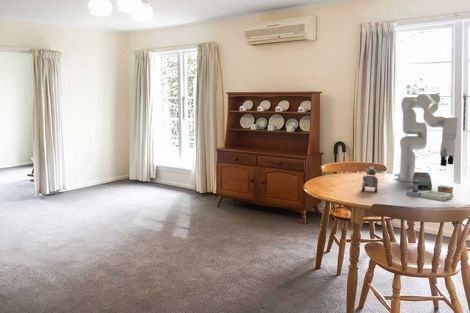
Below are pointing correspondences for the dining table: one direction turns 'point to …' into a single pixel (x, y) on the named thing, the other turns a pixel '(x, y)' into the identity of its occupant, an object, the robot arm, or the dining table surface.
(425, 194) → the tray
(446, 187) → the chock
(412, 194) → the pin socket
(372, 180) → the figurine
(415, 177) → the toy van
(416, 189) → the stop pin
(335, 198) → the dining table surface
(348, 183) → the dining table surface
